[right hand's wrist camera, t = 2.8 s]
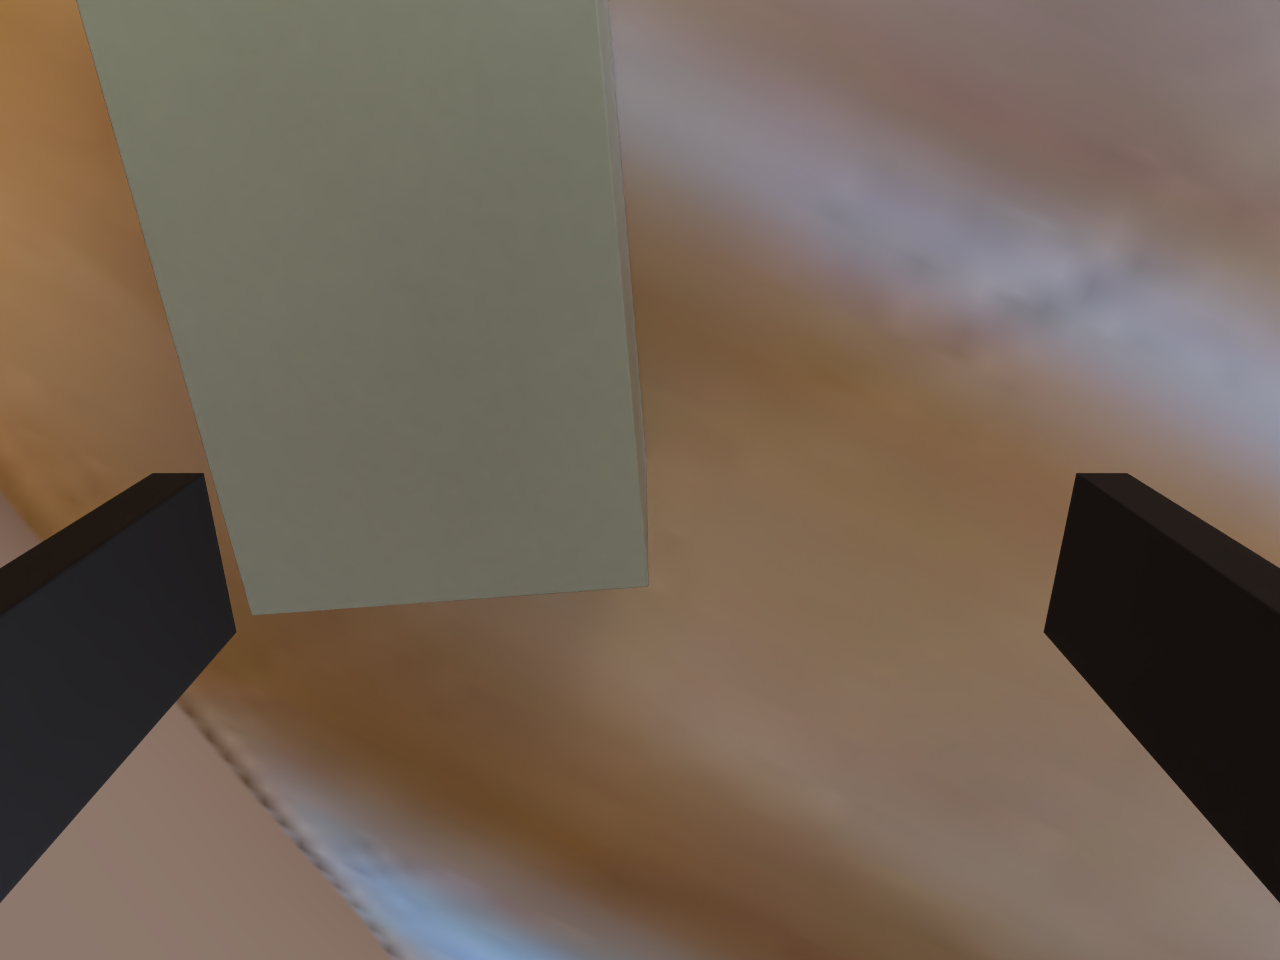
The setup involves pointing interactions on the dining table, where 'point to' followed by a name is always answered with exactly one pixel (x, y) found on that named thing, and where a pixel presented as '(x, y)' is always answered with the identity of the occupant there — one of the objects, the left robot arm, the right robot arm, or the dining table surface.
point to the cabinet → (393, 287)
